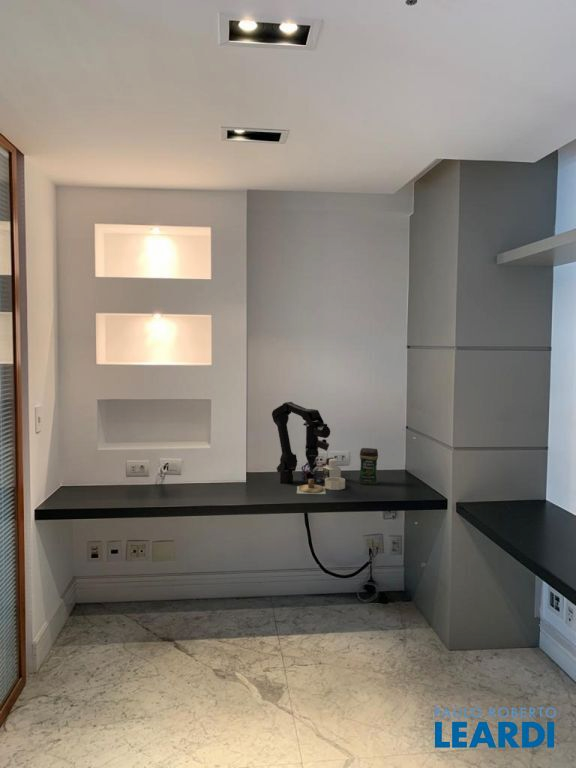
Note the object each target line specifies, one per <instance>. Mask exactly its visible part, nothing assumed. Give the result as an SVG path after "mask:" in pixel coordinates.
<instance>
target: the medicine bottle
mask: <svg viewBox="0 0 576 768" xmlns="http://www.w3.org/2000/svg"><path fill="white" fill-rule="evenodd" d="M325 460H326V461H325V463H326V464H325V466H323V467H322V480H323V479H324V480H323V481H325V478H329V477H340V478H342V477H341V476H342V474H341V473H342V472H341V469H342V468H341V467H338V466H339V465H338V459H337V458H336V457H328V458H326V459H325Z"/></svg>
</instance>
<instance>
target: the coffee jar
mask: <svg viewBox="0 0 576 768" xmlns="http://www.w3.org/2000/svg"><path fill="white" fill-rule="evenodd" d="M378 453H379V451H378V449H377V448H373V447H371V448H369V447H362V448H360V451H359V460H360V467H359V468H360V469H359V477H358V483H359V484H362V485H368V484H369V486H372V485H377V483H379V482H378V480H379V479H378V467H377V466H378V459H379V454H378Z"/></svg>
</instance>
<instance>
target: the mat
mask: <svg viewBox="0 0 576 768" xmlns="http://www.w3.org/2000/svg"><path fill="white" fill-rule="evenodd" d="M300 486H301V485H297V486H296V494H299V495H300V494H301V495H306V494H308V495H311V494H312V495H326V494H327V493H326V488H325V485H323V486H322V485H321V486H322V487H323V491H322V492H319V493H305V492H301V491H299V487H300Z"/></svg>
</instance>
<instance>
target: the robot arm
mask: <svg viewBox="0 0 576 768" xmlns="http://www.w3.org/2000/svg"><path fill="white" fill-rule="evenodd" d="M291 413H293V414H295V415H296V416H300V417H301V418H302V420H304V421H305V422H304V423H303V426H304V427H306V428H305V458H306V460H307V462H308V465H309V468H310V469H314V464H315V461H316V459H317V458H318V457H319V449H322V450H324V451H325V452H326V451H328V449H329V446H330V443H329V442H327V438H329V437H330V435H331V429H330V427H329V426H328V424H327V423H325V422H324V419H323V417H322V415H321V413H320V411H319V410H318V409H314V408H311V409H310V408H306V407H304V406H302V405H298V404H296V403H294V402H293V401H287V402H283V403H282V405H281V404H280V406H278V407H276V408H275V409H273V411H272V412H271V417H272V420H273V423H274V424H275V425H276V427H277V433H278V438H279V444H280V449H281V456H280V458H279V465H277V467H276V471H277V473H279V475H280V477H279V484H281V485H283V484H285V485H288V484H289V485H290V484H291V485H292V484H293V483H294V473H293V472H295V471H297V470H296V469H297V466H298V462H299V461H298V459H297V454H294V453H293V452H292V447H291V441H290V435H289V430H288V422H289V419H290V418H289V415H290V414H291ZM319 438H323V439H322V440H320V439H319Z"/></svg>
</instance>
